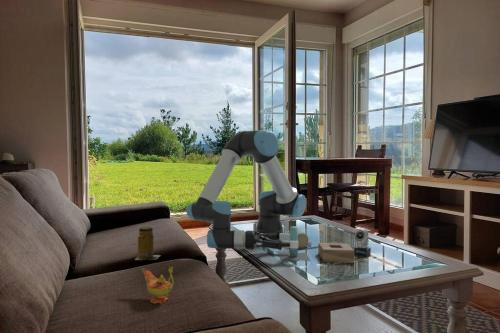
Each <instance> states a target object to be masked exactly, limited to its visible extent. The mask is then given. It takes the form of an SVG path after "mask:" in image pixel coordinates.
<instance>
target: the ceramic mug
mask: <svg viewBox="0 0 500 333" xmlns="http://www.w3.org/2000/svg"><path fill="white" fill-rule="evenodd" d="M287 234H290V230H289V231H288V233H287ZM287 241H290V240H287ZM312 244H313V243H312V242H310V240H309V236H308V235H307V234H306V233H305V232H304V231H301V230H299V229H298V249H299V248H305V247H307V246H309V247H311V246H312Z"/></svg>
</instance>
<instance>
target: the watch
mask: <svg viewBox="0 0 500 333" xmlns="http://www.w3.org/2000/svg"><path fill="white" fill-rule="evenodd" d="M353 237H354V240H355V243H356V246H354V247H353V250H354V256H360V257H366V258H367V257H369V256H371V255H372V254H371V253H372V252H371V251H372V250H371V249H372V248H371V247H369V246H368V244H369V230H368V229H367V228H359V229H357V231H356V232H355V233H354V236H353Z"/></svg>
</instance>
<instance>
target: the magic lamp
mask: <svg viewBox="0 0 500 333" xmlns="http://www.w3.org/2000/svg"><path fill="white" fill-rule="evenodd" d="M173 269H174V267H173V266H169V268H168V272H169V278H168V280H166V277H165V276H164V275H163V274H160V276H159V278H158V277H156V276H155V275H154V274H153V273H152V272H151V271H150V270H149V269H148V268H146V267H142V268H141V271H142V272H143V274H144V275H143V276H144V278H145V283H146V289H147V291H148V292H149V294H151V295H153V296H154V297H152V298H151V299H150V303H152V304H156V303H160V304H162V303H161V302H165V301H166V300H167V299H168V298H169V295H170V294H169V293H170V292H171V291H172V289H173V286H174V283H175V282H174V278H173V274H172V273H174V272H173ZM170 281H172V282H170ZM167 297H168V298H167ZM165 303H166V302H165Z"/></svg>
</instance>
